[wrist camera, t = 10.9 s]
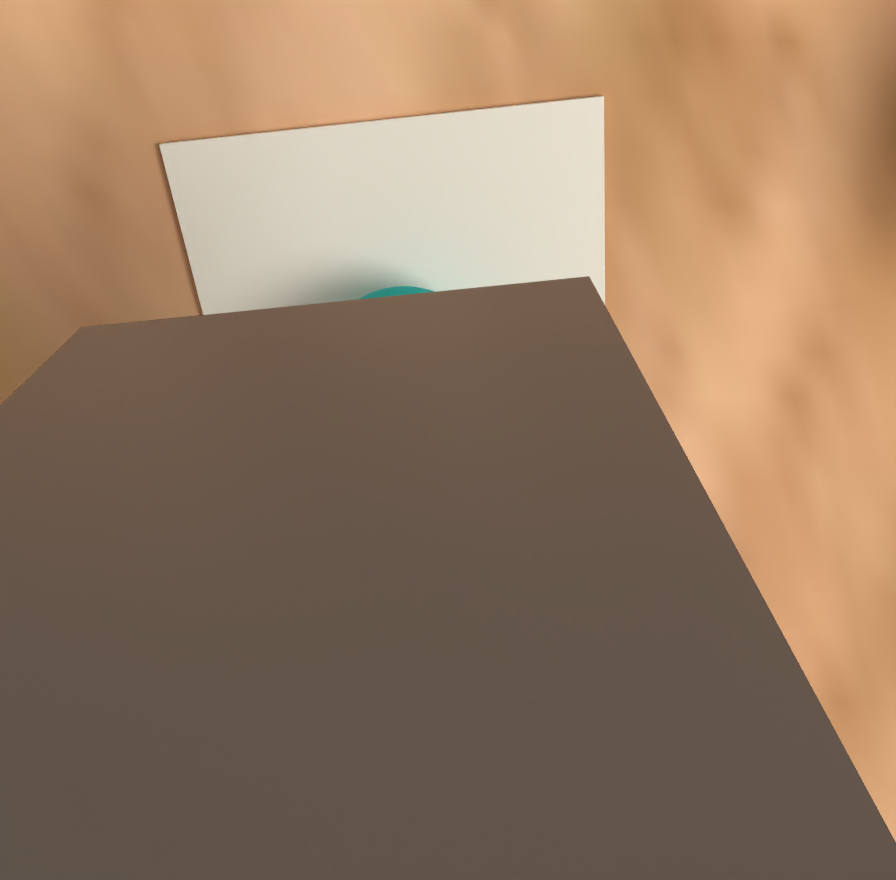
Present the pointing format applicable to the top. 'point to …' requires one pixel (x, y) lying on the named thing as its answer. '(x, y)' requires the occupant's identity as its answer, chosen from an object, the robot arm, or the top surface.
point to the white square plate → (393, 205)
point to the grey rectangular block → (391, 613)
